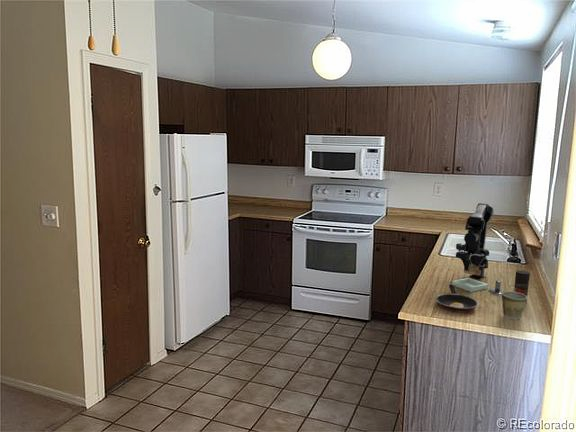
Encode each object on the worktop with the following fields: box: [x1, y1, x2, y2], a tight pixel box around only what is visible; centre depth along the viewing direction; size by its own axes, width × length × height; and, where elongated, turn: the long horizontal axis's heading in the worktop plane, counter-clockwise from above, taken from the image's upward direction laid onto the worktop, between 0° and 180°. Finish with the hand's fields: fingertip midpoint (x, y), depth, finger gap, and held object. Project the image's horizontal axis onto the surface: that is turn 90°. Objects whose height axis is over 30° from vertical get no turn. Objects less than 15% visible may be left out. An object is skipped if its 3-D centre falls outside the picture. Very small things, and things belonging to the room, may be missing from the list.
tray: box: [451, 277, 489, 293], centre depth 246 cm, size 12×12×3 cm
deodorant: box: [513, 269, 531, 304], centre depth 225 cm, size 6×6×15 cm
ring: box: [463, 265, 481, 276], centre depth 244 cm, size 7×9×3 cm
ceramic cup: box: [501, 290, 528, 321], centre depth 208 cm, size 13×10×10 cm
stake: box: [488, 280, 506, 296], centre depth 239 cm, size 8×8×6 cm
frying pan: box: [435, 283, 480, 313], centre depth 225 cm, size 19×32×4 cm, turn 168°
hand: (471, 269), depth 245 cm, fingers closed on ring, 7 cm apart
